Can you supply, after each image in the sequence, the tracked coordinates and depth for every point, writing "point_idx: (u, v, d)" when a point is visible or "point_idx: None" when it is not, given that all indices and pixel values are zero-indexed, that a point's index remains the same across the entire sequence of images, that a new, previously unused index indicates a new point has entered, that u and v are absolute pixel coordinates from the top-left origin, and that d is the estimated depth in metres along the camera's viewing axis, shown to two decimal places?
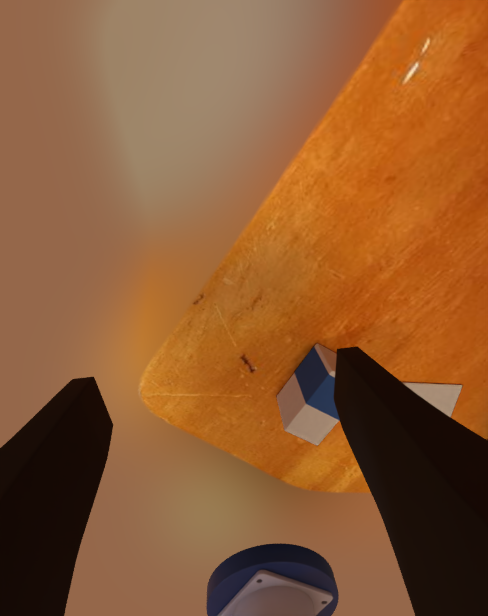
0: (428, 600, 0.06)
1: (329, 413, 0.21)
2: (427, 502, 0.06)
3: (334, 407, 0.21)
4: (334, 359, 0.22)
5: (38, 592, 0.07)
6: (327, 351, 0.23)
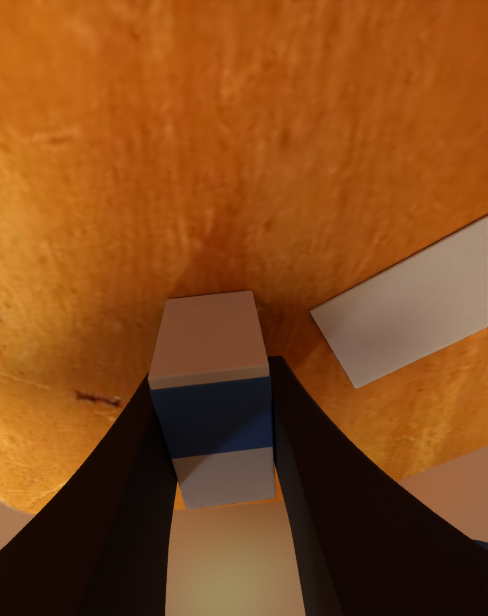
0: None
1: (237, 448, 0.09)
2: (302, 518, 0.06)
3: (234, 434, 0.08)
4: (195, 321, 0.09)
5: (151, 577, 0.07)
6: (187, 307, 0.10)
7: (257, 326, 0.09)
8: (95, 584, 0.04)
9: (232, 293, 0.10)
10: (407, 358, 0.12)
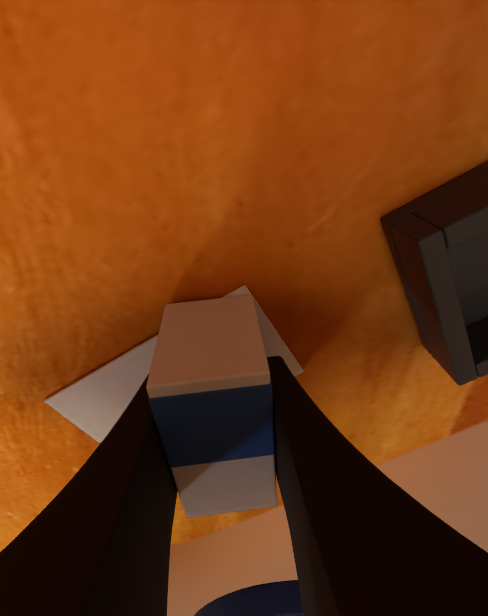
0: None
1: (237, 457, 0.08)
2: (300, 518, 0.06)
3: (235, 443, 0.08)
4: (194, 327, 0.09)
5: (153, 577, 0.07)
6: (186, 312, 0.10)
7: (258, 332, 0.08)
8: (98, 584, 0.04)
9: (232, 297, 0.10)
10: None
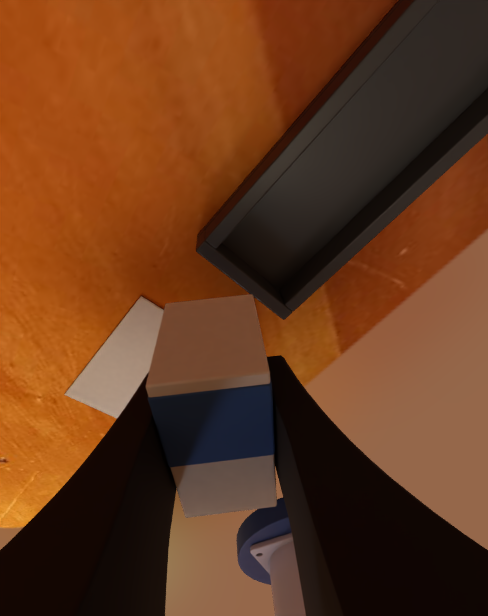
0: None
1: (237, 457, 0.08)
2: (302, 518, 0.06)
3: (235, 442, 0.08)
4: (194, 326, 0.09)
5: (151, 577, 0.07)
6: (186, 311, 0.09)
7: (258, 331, 0.08)
8: (95, 584, 0.04)
9: (232, 297, 0.10)
10: None
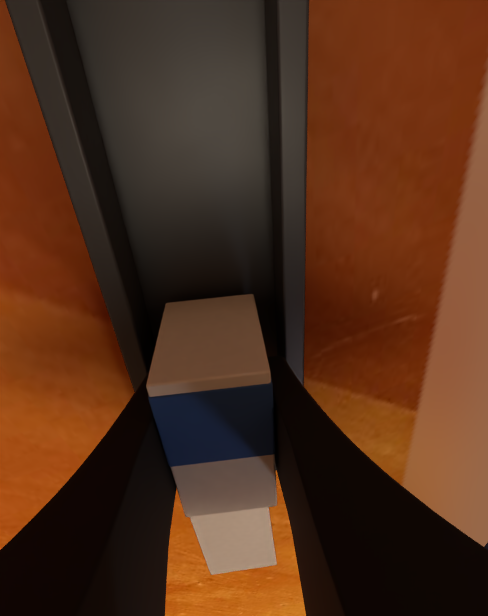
0: None
1: (238, 456, 0.08)
2: (303, 518, 0.06)
3: (235, 442, 0.08)
4: (195, 326, 0.09)
5: (151, 577, 0.07)
6: (186, 311, 0.09)
7: (258, 331, 0.08)
8: (95, 584, 0.04)
9: (233, 296, 0.10)
10: (270, 545, 0.20)
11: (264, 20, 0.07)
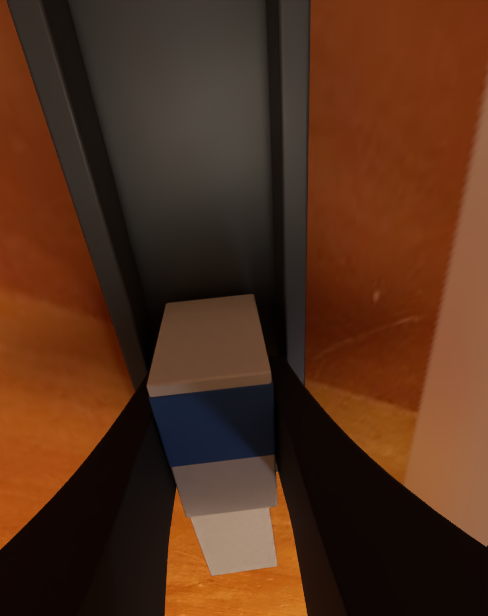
0: None
1: (238, 457, 0.08)
2: (304, 518, 0.06)
3: (236, 442, 0.08)
4: (195, 326, 0.09)
5: (151, 577, 0.07)
6: (187, 311, 0.09)
7: (259, 331, 0.08)
8: (94, 584, 0.04)
9: (233, 297, 0.10)
10: (271, 547, 0.20)
11: (265, 21, 0.07)
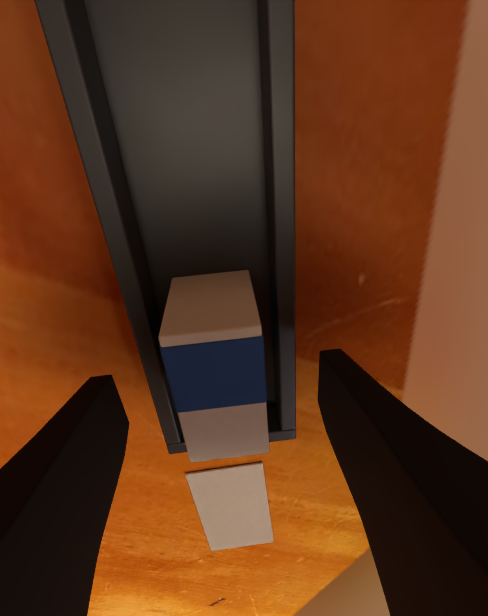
0: (402, 603, 0.06)
1: (235, 404, 0.10)
2: (399, 505, 0.06)
3: (232, 390, 0.10)
4: (198, 294, 0.10)
5: (64, 589, 0.07)
6: (190, 283, 0.11)
7: (252, 297, 0.10)
8: None
9: (231, 272, 0.12)
10: (267, 522, 0.21)
11: (258, 32, 0.08)
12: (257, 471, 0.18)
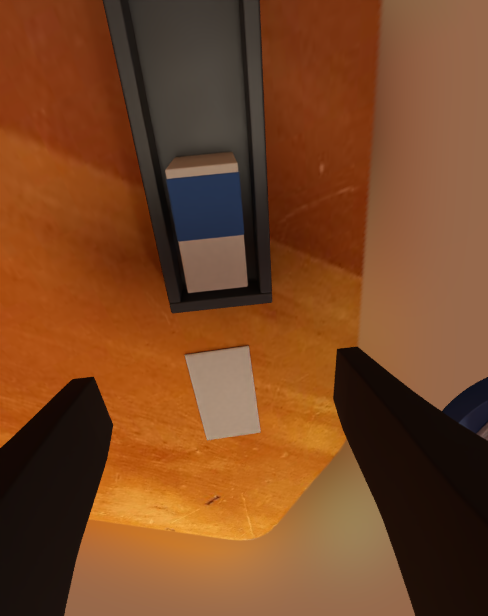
0: (428, 600, 0.06)
1: (220, 234, 0.13)
2: (427, 502, 0.06)
3: (218, 221, 0.13)
4: (194, 159, 0.14)
5: (38, 592, 0.07)
6: (188, 157, 0.15)
7: (233, 157, 0.13)
8: None
9: (219, 154, 0.15)
10: (254, 411, 0.24)
11: None
12: (244, 355, 0.22)
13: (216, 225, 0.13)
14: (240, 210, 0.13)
